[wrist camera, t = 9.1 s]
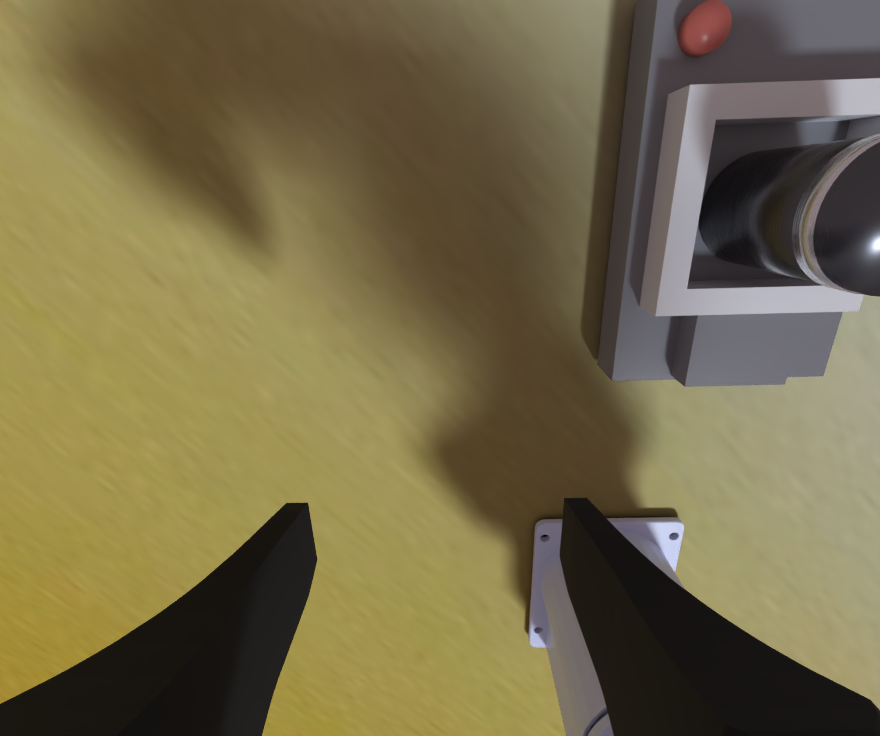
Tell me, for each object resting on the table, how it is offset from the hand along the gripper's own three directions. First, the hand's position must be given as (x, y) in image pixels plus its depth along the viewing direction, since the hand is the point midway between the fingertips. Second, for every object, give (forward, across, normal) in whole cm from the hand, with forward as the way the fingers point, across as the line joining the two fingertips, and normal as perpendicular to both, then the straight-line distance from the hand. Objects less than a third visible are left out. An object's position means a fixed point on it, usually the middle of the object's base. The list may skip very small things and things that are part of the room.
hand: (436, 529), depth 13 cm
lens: (+8, -12, -8) cm, 16 cm away
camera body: (+10, -12, -8) cm, 17 cm away
